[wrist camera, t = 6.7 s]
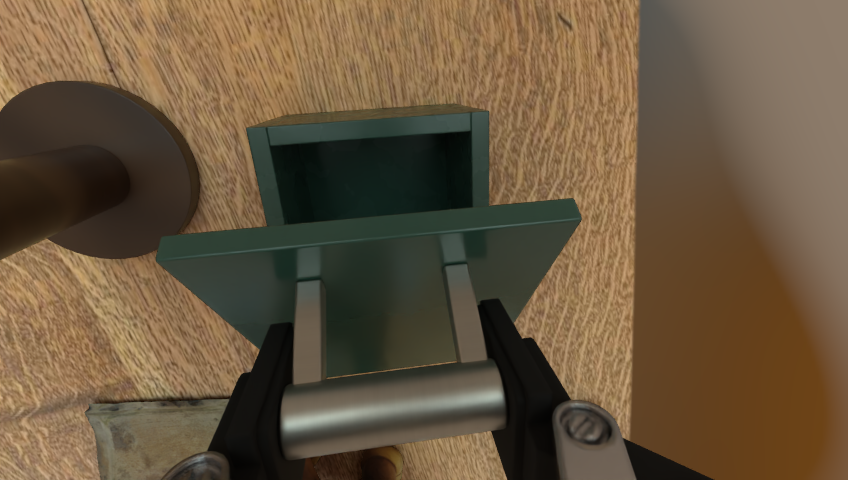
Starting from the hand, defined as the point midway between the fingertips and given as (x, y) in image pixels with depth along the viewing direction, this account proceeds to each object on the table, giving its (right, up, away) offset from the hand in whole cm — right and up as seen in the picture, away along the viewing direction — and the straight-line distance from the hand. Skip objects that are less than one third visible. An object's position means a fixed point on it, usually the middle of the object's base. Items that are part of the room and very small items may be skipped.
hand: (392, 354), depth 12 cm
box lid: (0, +1, +3) cm, 4 cm away
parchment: (-17, -14, +18) cm, 29 cm away
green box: (-2, +6, +14) cm, 15 cm away
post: (-18, +7, +11) cm, 22 cm away
